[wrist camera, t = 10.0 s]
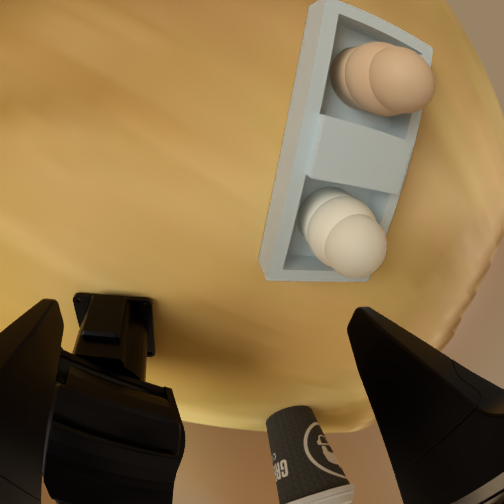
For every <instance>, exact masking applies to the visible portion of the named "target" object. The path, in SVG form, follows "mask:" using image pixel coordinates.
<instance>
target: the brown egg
mask: <svg viewBox="0 0 504 504" xmlns="http://www.w3.org/2000/svg"><path fill="white" fill-rule="evenodd" d="M330 80H331V84H332V87H333V90H334V92H335V93H336V95H337V96H338V98H339V99H340V100H341V101H342V102H343V103H345V104H346V105H347V106H349V107H351V108H354V109H358V110H363V111H368V112H371V113H373V114H376V115H380V116H396V115H399V114H402V113H414V112H417V111H419V110H421V109H423V108H424V107H426V106H427V104H428V103H429V102H430V101H431V99H432V97H433V94H434V91H435V79H434V75H433V72H432V70H431V68H430V66H429V65H428V63H427V62H426V61H425V60H424V59H423V58H422V57H421V56H420V55H419V54H417V53H416V52H414V51H412V50H410V49H408V48H405V47H399V46H395V45H393V44H390V43H386V42H370V43H366V44H363V45H360V46H354V47H349V48H346V49H344V50H342V51H340V52H339V53H338V54H337V55H336V57H335V58H334V60H333V62H332V64H331V68H330Z"/></svg>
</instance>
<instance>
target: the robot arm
mask: <svg viewBox="0 0 504 504" xmlns="http://www.w3.org/2000/svg"><path fill="white" fill-rule="evenodd" d="M78 299H80V300H78ZM73 303H74V307H75V312H76V316H77V320H78V323H79V327H80V330H79V333H78V336H77V339H76V343H75V346H74V350H73V353H69V352H67V351H65V350H63V348H62V347H61V342H62V336H63V329H64V323H63V319H62V315H61V312H60V308H59V304H58V302H57V301H56V300H54V299H43V300H41V301H40V302H38V303H37V304H36V305H35V306H33V307H32V308H31V309H29V310H28V311H27V312H25V313H24V314H23V315H22V316H20V317H19V318H18V319H17V320H15V321H14V322H13V323H12V324H10V325H9V326H8V327H7V328H5V329H4V330H3V331H2V332H1V333H0V504H41V484H42V475H43V477H44V483H45V485H46V488H47V490H48V493H49V495H50V497H51V498H52V499H54V500H55V501H56V503H57V504H172V498H173V487H174V481H175V477H176V473H177V470H178V467H179V465H180V462H181V460H182V457H183V453H184V448H185V431H184V427H183V424H182V420H181V417H180V414H179V411H178V408H177V405H176V401H175V398H174V395H173V391H172V389H171V388H168V387H160V386H157V385H154V384H151V383H147V382H145V379H146V361H147V357H152V356H154V355H155V343H154V327H153V308H152V301H151V299H149V298H146V297H129V296H113V295H99V294H87V293H76V294H75V295H74V297H73ZM144 303H146V304H148V305H144ZM347 333H348V336H349V340H350V343H351V347H352V350H353V354H354V358H355V361H356V365H357V368H358V372H359V374H360V377H361V380H362V382H363V385H364V388H365V390H366V393H367V396H368V398H369V401H370V404H371V407H372V409H373V412H374V415H375V418H376V420H377V423H378V426H379V428H380V432H381V434H382V437H383V440H384V443H385V446H386V449H387V452H388V455H389V458H390V461H391V464H392V467H393V470H394V473H395V477H396V480H397V483H398V487H399V490H400V493H401V497H402V500H403V503H404V504H504V389H502V388H500V387H498V386H496V385H495V384H493V383H491V382H489V381H487V380H486V379H484V378H482V377H480V376H479V375H476V374H475V373H473V372H471V371H470V370H468V369H467V368H465V367H463V366H462V365H460V364H459V363H457V362H456V361H454V360H452V359H450V358H449V357H448V356H446V355H445V354H443V353H441V352H440V351H438V350H437V349H435V348H434V347H432V346H430V345H429V344H427V343H426V342H424V341H423V340H421V339H419V338H418V337H416V336H415V335H413V334H412V333H410V332H408V331H407V330H405V329H404V328H402V327H400V326H399V325H397V324H396V323H394V322H392V321H391V320H389V319H388V318H386V317H384V316H383V315H381V314H380V313H378V312H376V311H375V310H373V309H372V308H370V307H358V308H357V309H356V310H355V311H354V313H353V316H352V318H351V320H350V322H349V324H348V327H347Z"/></svg>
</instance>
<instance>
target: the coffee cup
mask: <svg viewBox="0 0 504 504" xmlns="http://www.w3.org/2000/svg"><path fill="white" fill-rule="evenodd" d="M266 426H267V432H268V437H269V444H270V449H271V455H272V461H273V467H274V472H275V478H276V484H277V490H278V496H279V502H280V504H349V503H351V502H353V493H354V492H355V491H354V490H355V486H354V484H350V483H349V481H348V480H347V478H346V476H345V474H344V472H343V470H342V468H341V466H340V465H339V463H338V461H337V459H336V457H335V455H334V453H333V451H332V449H331V447H330V445H329V443H328V441H327V439H326V437H325V435H324V433H323V431H322V429H321V428H320V426H319V424H318V422H317V420H316V418H315V416H314V414H313V412H312V410H311V408H309V407H307V406H294V407H289V408H286V409H283V410H280V411H278V412H276V413H274V414H273V415H271V416H270V417H269V418H268V419H267V421H266Z"/></svg>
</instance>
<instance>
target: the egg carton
mask: <svg viewBox="0 0 504 504" xmlns="http://www.w3.org/2000/svg"><path fill="white" fill-rule="evenodd" d="M370 42H386V43H390V44H393V45H395V46H399V47H405V48H408V49H410V50H412V51H414V52H416V53H417V54H419V55H420V56H421V57H422V58H423V59H424V60H425V61H426V62H427V63H428V65H429V66H430V67H431V61H432V53H433V48H432V47H431V46H429V45H428V44H426V43H424V42H423V41H421V40H419V39H418V38H416V37H414V36H412V35H411V34H409V33H407V32H405V31H404V30H402V29H400V28H398V27H396V26H394V25H392V24H390V23H388V22H386V21H384V20H382V19H380V18H378V17H376V16H374V15H372V14H370V13H367V12H365V11H363V10H361V9H358V8H356V7H354V6H351V5H349V4H346V3H344V2H341V1H339V0H319V1H317V2H315V3H314V4H312V5H310V6H309V10H308V15H307V20H306V26H305V31H304V36H303V41H302V46H301V52H300V57H299V62H298V67H297V72H296V77H295V82H294V87H293V92H292V98H291V103H290V108H289V113H288V118H287V123H286V128H285V133H284V138H283V143H282V148H281V153H280V157H279V162H278V167H277V172H276V177H275V182H274V187H273V192H272V197H271V202H270V206H269V211H268V216H267V221H266V226H265V231H264V235H263V240H262V245H261V250H260V255H259V259H258V260H259V263H260V265H261V268H262V270H263V273H264V275H265V278H266V280H267V281H315V282H368V280H369V278H370V275H371V274H370V275H368V276H366V277H362V278H349V277H345V276H343V275H341V274H339V273H338V272H336V271H335V270H334V269H333V268H332V267H330V266H327V265H325V264H324V263H322V262H321V261H320V260H319V259H318V258H317V257H316V256H315V255H314V253H313V252H312V250H311V248H310V246H309V244H308V242H307V241H306V240H305V238H304V237H303V236H302V234H301V233H300V231H299V228H298V224H297V216H298V211H299V208H300V206H301V204H302V203H303V201H304V200H305V198H306V197H307V196H308V195H309V194H311V193H312V192H313V191H315V190H317V189H319V188H322V187H326V186H334V187H338V188H341V189H343V190H344V191H346V192H347V193H348V194H350V195H351V196H352V197H354V198H355V199H358V200H360V201H361V202H363V203H364V204H365V205H367V206H368V207H369V208H370V210H371V211H372V212H373V214H374V216H375V218H376V221H377V223H378V224H379V225H380V226H381V227H382V229H383V231H384V233H385V236H386V234H387V232H388V229H389V226H390V223H391V220H392V217H393V214H394V212H395V209H396V206H397V202H398V199H399V196H400V193H401V190H402V187H403V183H404V180H405V177H406V173H407V170H408V166H409V163H410V159H411V156H412V152H413V148H414V144H415V140H416V136H417V132H418V128H419V124H420V119H421V115H422V110H423V109H421V110H419V111H417V112H414V113H402V114H399V115H396V116H380V115H376V114H373V113H371V112H368V111H363V110H358V109H354V108H351V107H349V106H347V105H346V104H345V103H343V102H342V101H341V100H340V99H339V98H338V96H337V95H336V93H335V92H334V90H333V87H332V84H331V80H330V68H331V64H332V62H333V60H334V58H335V57H336V55H337V54H338V53H339V52H340V51H342V50H344V49H346V48H349V47H354V46H360V45H363V44H366V43H370Z"/></svg>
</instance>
